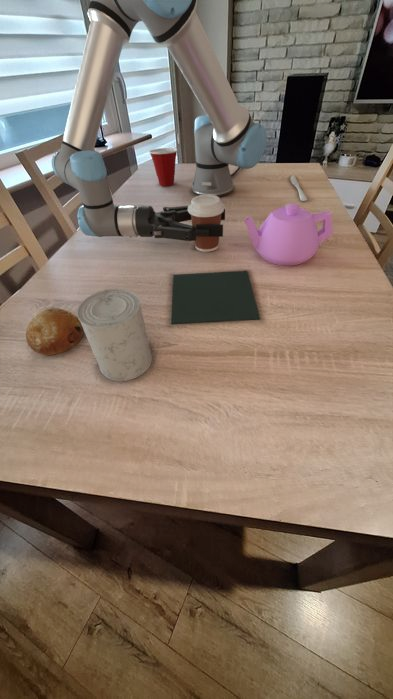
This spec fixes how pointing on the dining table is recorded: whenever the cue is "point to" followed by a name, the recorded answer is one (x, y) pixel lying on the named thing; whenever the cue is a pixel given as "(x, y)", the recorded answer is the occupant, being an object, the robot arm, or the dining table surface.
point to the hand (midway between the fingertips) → (223, 222)
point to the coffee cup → (206, 219)
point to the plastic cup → (164, 164)
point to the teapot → (289, 234)
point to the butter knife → (295, 183)
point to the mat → (213, 298)
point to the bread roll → (53, 331)
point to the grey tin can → (116, 333)
